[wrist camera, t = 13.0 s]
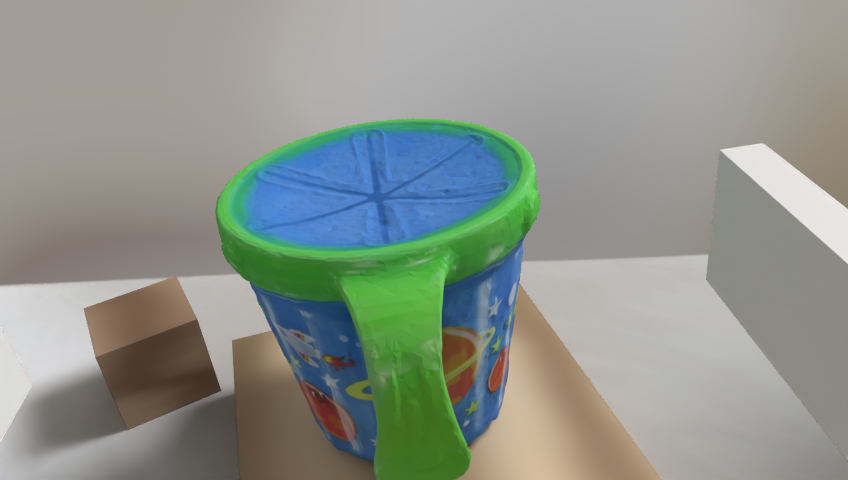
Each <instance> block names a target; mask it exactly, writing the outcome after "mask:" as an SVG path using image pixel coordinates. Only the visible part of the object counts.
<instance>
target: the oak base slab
mask: <svg viewBox="0 0 848 480" xmlns="http://www.w3.org/2000/svg"><path fill="white" fill-rule="evenodd" d="M232 347H233V366H234V384H235V403H236V422H237V440H238V459H239V478H240V480H377V478H376V476H375V473H374V462H372V461H367V460H364V459H361V458H359V457H356V456H354V455H352V454H350V453H349V452H345V451H342V450H338V449H337V448H336V447H335V446H334V445H333V444H332V443H331V442H330V441H329V440H328V439H327V438H326V436H325V434H324V432H323V431H322V430H321V428H320V427H319V425H318V424H317V422H316V421H315V419H314V417H313V414H312V412H311V410H310V407H309V405H308V402H307V400H306V398H305V396H304V394H303V392H302V390H301V388H300V386H299V383H298V382H297V380H296V378H295V376H294V374H293V371H292V368H291V367H290V365H289V364H288V361H287V359H286V358H285V356H284V354H283V352H282V350H281V348H280V346H279V344H278V342H277V340H276V338H275V336H274V333H273V331H269V332H265V333H261V334H256V335H252V336H248V337H244V338H240V339H236V340H232ZM467 446H468V448H469V450H470V451H471V462H470V466H469V469H468V470H467V471H466V472H465V473H464V475H462V476H461V477H459V478H457V479H455V480H662V479H661V478H660V477H659V475H658V474H657V472H656V471H655V470H654V468H653V467H652V466H651V464H650V463H649V461H648V460H647V459H646V457H645V456H644V455H643V453H642V452H641V450H640V449H639V448H638V446H637V445H636V443H635V442H634V441H633V439H632V438H631V437H630V435H629V434H628V432H627V431H626V430H625V428H624V427H623V426H622V424H621V423H620V421H619V420H618V419H617V417H616V416H615V415H614V413H613V412H612V410H611V409H610V408H609V406H608V405H607V403H606V402H605V401H604V399H603V398H602V397H601V395H600V394H599V392H598V391H597V390H596V388H595V387H594V386H593V384H592V383H591V381H590V380H589V379H588V377H587V376H586V375H585V373H584V372H583V370H582V369H581V368H580V366H579V365H578V363H577V362H576V361H575V359H574V358H573V357H572V355H571V354H570V352H569V351H568V350H567V348H566V347H565V346H564V344H563V343H562V341H561V340H560V339H559V337H558V336H557V335H556V333H555V332H554V330H553V329H552V328H551V326H550V325H549V324H548V322H547V321H546V319H545V318H544V317H543V315H542V314H541V312H540V311H539V310H538V308H537V307H536V306H535V304H534V303H533V301H532V300H531V299H530V297H529V296H528V295H527V293H526V292H525V290H524V289H523V288H522V286H521V285H520V284H519V287H518V295H517V304H516V313H515V320H514V328H513V334H512V337H511V345H510V352H509V371H508V378H507V383H506V386H505V393H504V398H503V402H502V406H501V409H500V411H499V415H498V418H497V419H496V420H493V421H491V423H490V424H489V425H488V427H487V428H486V429H485V431H484V433H483V434H481V435H480V436H479V437H477V438H476V439H475V440H474V441H472V442H471V443H469V444H468V445H467Z"/></svg>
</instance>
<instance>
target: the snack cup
mask: <svg viewBox="0 0 848 480" xmlns="http://www.w3.org/2000/svg"><path fill="white" fill-rule="evenodd" d="M539 206H540V195H539V194H538V192H537V181H536V172H535V166H534V161H533V159H532V157H531V155H530V154H529V153H528V152H527V150H526V149H525V148H524V147H523V146H522V145H521V144H520V143H519V142H517V141H516V140H514V139H512V138H511V137H509V136H507V135H505V134H503V133H501V132H498V131H495V130H493V129H490V128H487V127H484V126H480V125H476V124H471V123H466V122H460V121H451V120H440V119H397V120H386V121H377V122H370V123H364V124H357V125H352V126H347V127H343V128H338V129H334V130H329V131H326V132H322V133H319V134H316V135H312V136H309V137H306V138H302V139H300V140H297V141H295V142H292V143H289V144H287V145H285V146H282V147H280V148H277V149H276V150H273V151H271V152H269V153H268V154H266V155H264V156H263V157H261V158H259V159H257V160H255V161H254V162H252V163H251V164H249V165H248V166H247V167H245V168H244V169H243V170H241V171H240V172H239V173H237V174H236V175H235V176H234V177H233V178H232V179H231V180H230V181H229V182H228V184H227V185H226V186H225V188H224V189H223V191H222V192H221V194H220V196H219V197H218V200H217V205H216V220H217V224H218V229H219V233H220V237H221V240H222V251H223V254H224V256H225V258H226V260H227V262H229V264H230V265H231V266H232V267H233V268H234V269H235V270H236V271H237V272H238V273H239V274H240V275H241V276H242V277H243V278H244V279H245V280H247V281H249V282H250V284H251V287H252V289H253V290H254V292H255V294H256V296H257V301H258V302H259V305H260V307H261V308H262V310H263V312H264V314H265V316H266V319H267V321H268V323H269V325H270V327H271V329H272V331H273V333H274V336H275V338H276V340H277V342H278V344H279V346H280V348H281V350H282V352H283V354H284V356H285V358H286V359H287V361H288V364H289V365H290V367H291V368H292V371H293V374H294V376H295V378H296V380H297V382H298V383H299V386H300V388H301V390H302V392H303V394H304V396H305V398H306V400H307V402H308V405H309V407H310V410H311V412H312V414H313V417H314V419H315V421H316V422H317V424H318V425H319V427H320V428H321V430H322V431H323V432H324V434H325V436H326V438H327V439H328V440H329V441H330V442H331V443H332V444H333V445H334V446H335V447H336V448H337V449H338V450H342V451H345V452H349V453H350V454H352V455H354V456H356V457H359V458H361V459H364V460H367V461H372V462H374V473H375V476H376V478H377V480H455V479H457V478H459V477H461V476H462V475H464V473H465V472H466V471H467V470H468V469H469V466H470V462H471V451H470V450H469V448H468V446H467V445H468V444H469V443H471V442H472V441H474V440H475V439H476V438H477V437H479V436H480V435H481V434H483V433H484V431H485V429H486V428H487V427H488V425H489V424H490V423H491V421H493V420H496V419H497V418H498V415H499V411H500V409H501V406H502V402H503V398H504V393H505V386H506V383H507V378H508V371H509V352H510V345H511V337H512V334H513V328H514V320H515V313H516V304H517V295H518V287H519V280H520V272H521V263H522V255H523V248H522V242H523V240H524V238H525V236H526V234H527V232H528V231H529V230H530V228H531V226H532V225H533V223H534V221H535V220H536V218H537V214H538V212H539Z"/></svg>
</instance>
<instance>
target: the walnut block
mask: <svg viewBox="0 0 848 480" xmlns="http://www.w3.org/2000/svg"><path fill="white" fill-rule="evenodd" d="M84 312H85V316H86V320H87V324H88V328H89V333H90V337H91V341H92V345H93V349H94V354H95V358H96V360H97V362H98V364H99V367H100V369H101V371H102V373H103V376H104V378H105V380H106V382H107V385H108V387H109V389H110V391H111V394H112V396H113V398H114V400H115V403H116V405H117V407H118V409H119V412H120V414H121V416H122V418H123V421H124V423H125V425H126V427H127V430H129V429H132V428H134V427H136V426H139V425H141V424H143V423H146V422H148V421H150V420H153V419H155V418H158V417H160V416H162V415H165V414H167V413H169V412H172V411H174V410H177V409H179V408H181V407H184V406H186V405H188V404H191V403H193V402H196V401H198V400H200V399H203V398H205V397H207V396H210V395H212V394H214V393H217V392H219V391H221V389H220V386H219V383H218V380H217V377H216V374H215V371H214V368H213V365H212V362H211V359H210V356H209V353H208V350H207V347H206V344H205V341H204V338H203V335H202V332H201V329H200V326H199V323H198V320H197V318H196V316H195V314H194V312H193V310H192V308H191V306H190V304H189V302H188V300H187V298H186V296H185V294H184V291H183V289H182V287H181V285H180V283H179V281H178V279H177V277H173V278H170V279H167V280H164V281H161V282H158V283H156V284H153V285H150V286H147V287H144V288H141V289H138V290H135V291H133V292H130V293H127V294H124V295H121V296H118V297H115V298H113V299H110V300H107V301H104V302H101V303H98V304H95V305H92V306H90V307H87V308H84Z"/></svg>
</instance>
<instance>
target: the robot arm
mask: <svg viewBox="0 0 848 480" xmlns="http://www.w3.org/2000/svg"><path fill="white" fill-rule="evenodd" d="M706 280H707V281H708V282H709V284H710V285H711V286H712V288H713V289H714V290H715V291H716V293H717V294H718V295H719V297H720V298H721V299H722V300H723V302H724V303H725V304H726V306H727V307H728V308H729V310H730V311H731V312H732V313H733V315H734V316H735V317H736V319H737V320H738V321H739V322H740V324H741V325H742V326H743V328H744V329H745V330H746V331H747V333H748V334H749V335H750V337H751V338H752V339H753V340H754V342H755V343H756V344H757V346H758V347H759V348H760V349H761V351H762V352H763V353H764V355H765V356H766V357H767V358H768V360H769V361H770V362H771V364H772V365H773V366H774V367H775V369H776V370H777V371H778V373H779V374H780V375H781V376H782V378H783V379H784V380H785V382H786V383H787V384H788V386H789V387H790V388H791V389H792V391H793V392H794V393H795V395H796V396H797V397H798V398H799V400H800V401H801V402H802V404H803V405H804V406H805V407H806V409H807V410H808V411H809V413H810V414H811V415H812V416H813V418H814V419H815V420H816V422H817V423H818V424H819V425H820V427H821V428H822V429H823V431H824V432H825V433H826V434H827V436H828V437H829V438H830V440H831V441H832V442H833V443H834V445H835V446H836V447H837V449H838V450H839V451H840V452H841V454H842V455H843V456H844V458H845V459H846V460H847V462H848V209H847V208H845V207H844V206H843V205H841V204H840V203H839V202H838V201H836V200H835V199H834V198H833V197H831V196H830V195H829V194H827V193H826V192H825V191H824V190H822V189H821V188H820V187H819V186H817V185H816V184H815V183H813V182H812V181H811V180H810V179H808V178H807V177H806V176H804V175H803V174H802V173H801V172H799V171H798V170H797V169H795V168H794V167H793V166H792V165H790V164H789V163H788V162H786V161H785V160H784V159H783V158H781V157H780V156H779V155H778V154H776V153H775V152H774V151H772V150H771V149H770V148H769V147H767V146H766V145H765V144H763V143H762V144H755V145H748V146H742V147H735V148H729V149H722V150H720V153H719V162H718V172H717V181H716V191H715V200H714V210H713V220H712V229H711V239H710V248H709V257H708V267H707V276H706ZM32 386H33V384H32V382H31V380H30V378H29V376H28V375H27V373H26V371H25V369H24V367H23V366H22V364H21V362H20V360H19V359H18V357H17V355H16V353H15V351H14V350H13V348H12V346H11V344H10V343H9V341H8V339H7V337H6V335H5V334H4V332H3V330H2V328H1V327H0V443H1V441H2V439H3V437H4V435H5V434H6V432H7V430H8V428H9V427H10V425H11V423H12V421H13V419H14V418H15V416H16V414H17V412H18V410H19V409H20V407H21V405H22V403H23V402H24V400H25V398H26V396H27V394H28V393H29V391H30V389H31V387H32Z"/></svg>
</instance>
